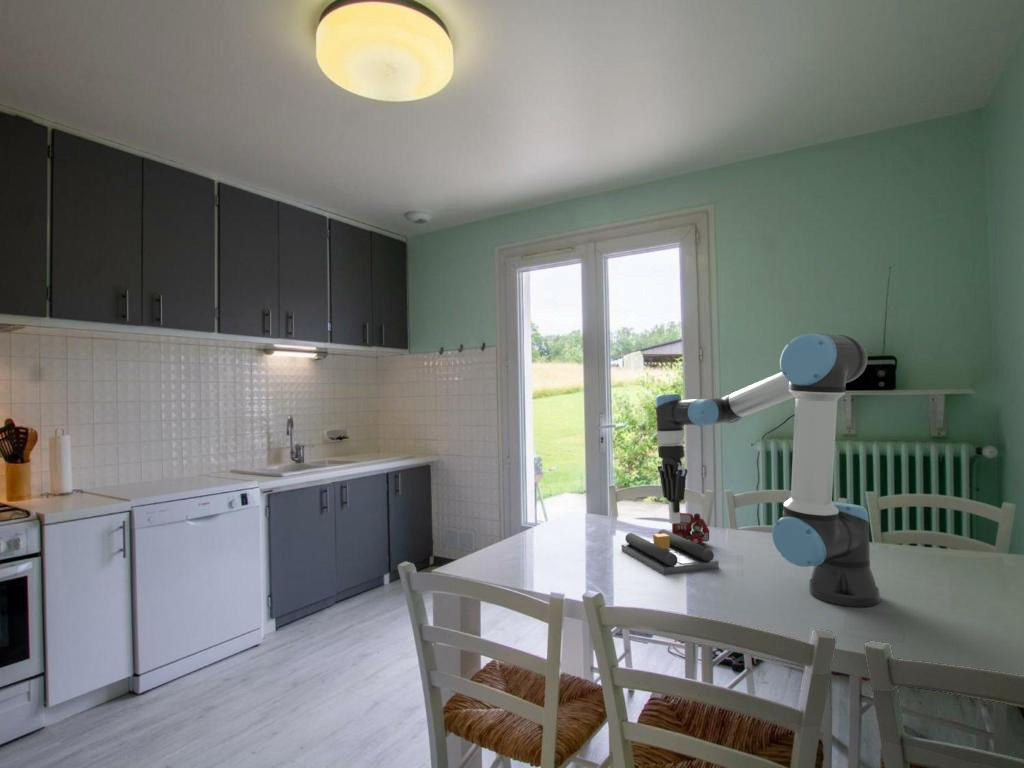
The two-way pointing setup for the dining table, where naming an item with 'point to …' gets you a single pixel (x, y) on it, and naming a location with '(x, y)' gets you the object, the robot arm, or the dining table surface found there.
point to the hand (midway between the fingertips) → (674, 522)
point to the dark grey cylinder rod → (652, 549)
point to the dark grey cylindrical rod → (689, 546)
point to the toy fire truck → (685, 528)
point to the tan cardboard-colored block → (662, 540)
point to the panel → (684, 564)
